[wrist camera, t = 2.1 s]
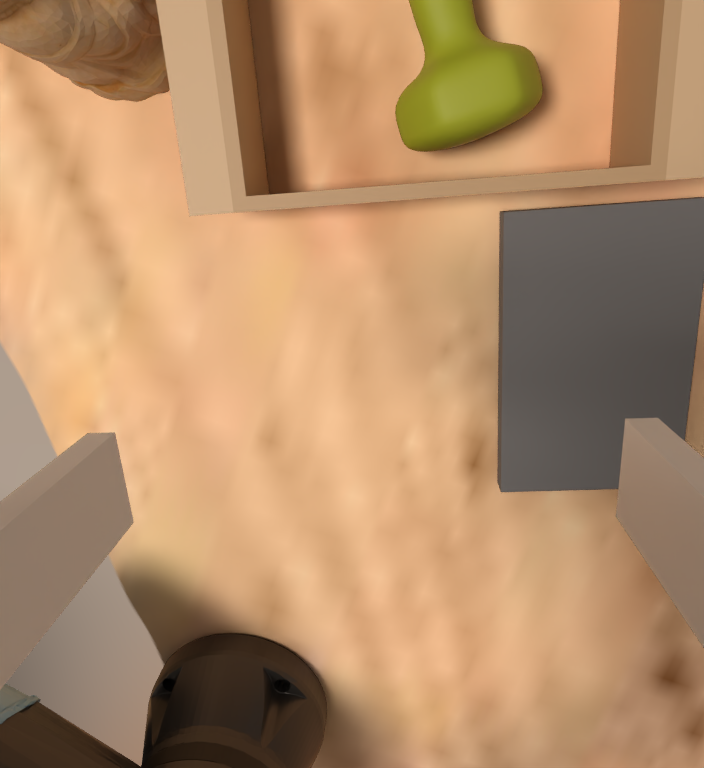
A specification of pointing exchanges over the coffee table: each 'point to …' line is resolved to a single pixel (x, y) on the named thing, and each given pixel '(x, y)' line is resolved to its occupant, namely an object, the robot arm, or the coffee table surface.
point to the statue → (92, 43)
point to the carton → (251, 192)
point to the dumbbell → (463, 80)
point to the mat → (593, 335)
